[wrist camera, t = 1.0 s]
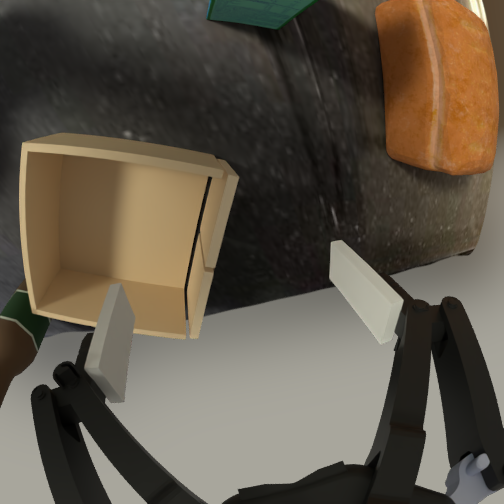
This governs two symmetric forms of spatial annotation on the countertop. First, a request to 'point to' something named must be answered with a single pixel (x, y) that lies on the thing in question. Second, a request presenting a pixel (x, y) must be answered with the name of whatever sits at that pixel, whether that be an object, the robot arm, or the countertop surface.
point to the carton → (110, 226)
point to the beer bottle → (19, 336)
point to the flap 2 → (217, 213)
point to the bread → (438, 86)
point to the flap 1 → (198, 290)
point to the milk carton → (257, 11)
